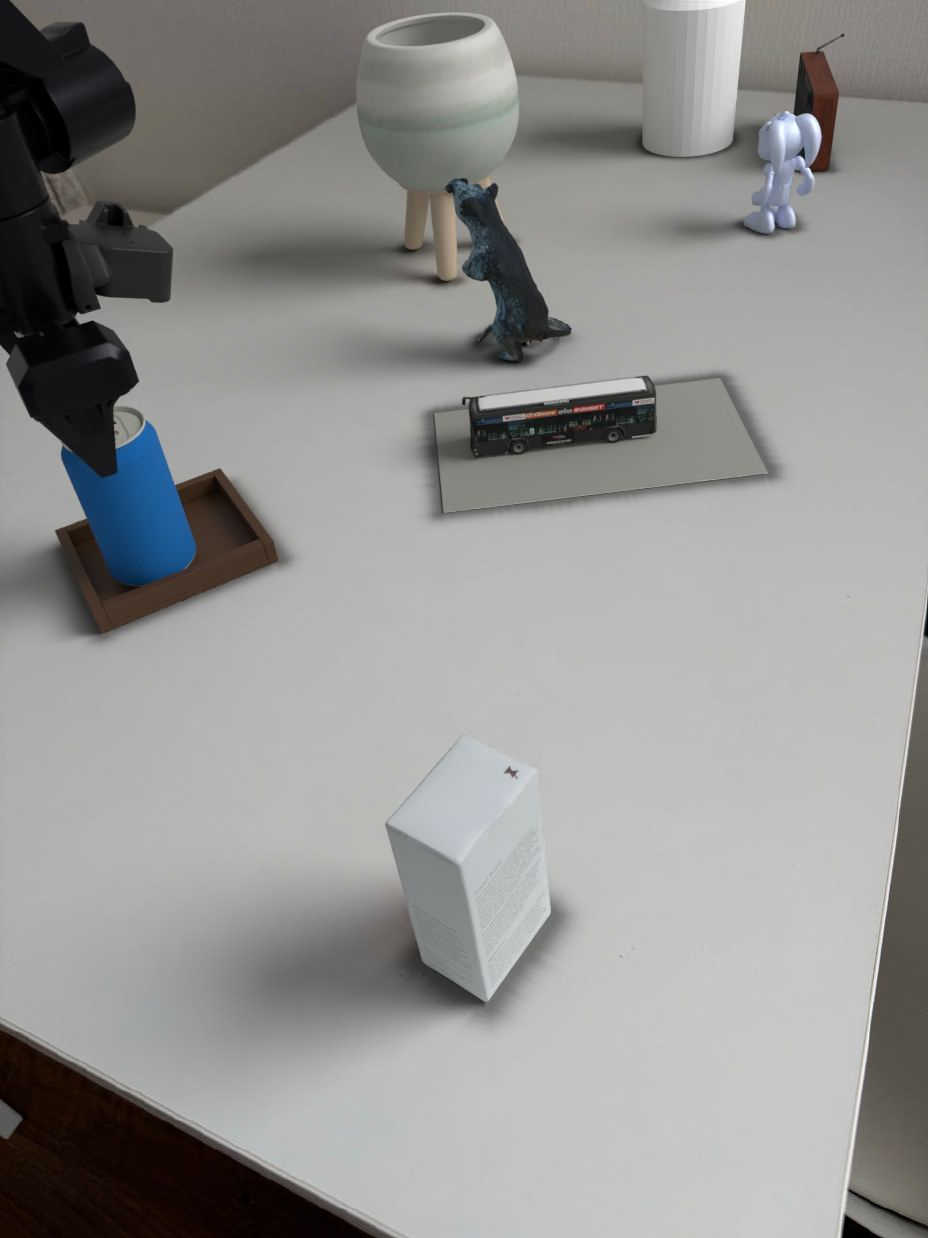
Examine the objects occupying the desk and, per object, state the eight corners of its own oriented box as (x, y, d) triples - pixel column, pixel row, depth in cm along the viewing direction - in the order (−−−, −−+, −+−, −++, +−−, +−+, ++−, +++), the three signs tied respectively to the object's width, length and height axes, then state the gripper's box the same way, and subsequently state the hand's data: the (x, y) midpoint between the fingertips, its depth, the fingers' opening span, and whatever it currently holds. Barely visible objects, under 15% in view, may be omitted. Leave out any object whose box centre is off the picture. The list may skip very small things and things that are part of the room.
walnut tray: (101, 634, 73) (92, 613, 72) (63, 550, 81) (54, 530, 80) (279, 560, 77) (273, 539, 76) (226, 487, 85) (220, 467, 84)
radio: (789, 124, 133) (803, -9, 123) (813, 123, 133) (830, -11, 123) (803, 178, 120) (820, 34, 110) (830, 177, 119) (850, 32, 109)
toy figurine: (785, 209, 114) (798, 92, 106) (817, 229, 110) (834, 109, 102) (729, 222, 113) (738, 105, 105) (759, 244, 109) (771, 123, 100)
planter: (446, 304, 105) (418, 63, 90) (352, 263, 115) (312, 39, 100) (558, 249, 112) (549, 17, 97) (461, 215, 122) (439, -1, 107)
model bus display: (434, 413, 90) (428, 370, 87) (719, 378, 90) (723, 333, 87) (443, 512, 80) (437, 467, 77) (767, 473, 79) (773, 425, 76)
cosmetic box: (485, 876, 56) (464, 728, 47) (553, 914, 53) (542, 767, 45) (416, 964, 52) (380, 822, 44) (485, 1008, 50) (461, 867, 42)
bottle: (631, 131, 137) (633, -95, 120) (719, 119, 137) (734, -109, 120) (652, 162, 128) (659, -77, 111) (747, 149, 128) (768, -92, 111)
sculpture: (493, 313, 103) (480, 157, 93) (587, 335, 98) (584, 173, 88) (444, 351, 98) (424, 191, 88) (540, 376, 93) (531, 210, 83)
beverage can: (169, 527, 81) (120, 392, 73) (215, 561, 77) (169, 422, 69) (96, 569, 78) (36, 433, 70) (141, 606, 74) (83, 467, 66)
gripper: (186, 213, 54) (254, 464, 64) (95, 130, 67) (165, 351, 77) (-31, 275, 51) (79, 530, 61) (-83, 175, 63) (15, 400, 74)
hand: (90, 442), depth 68 cm, fingers open, 9 cm apart
